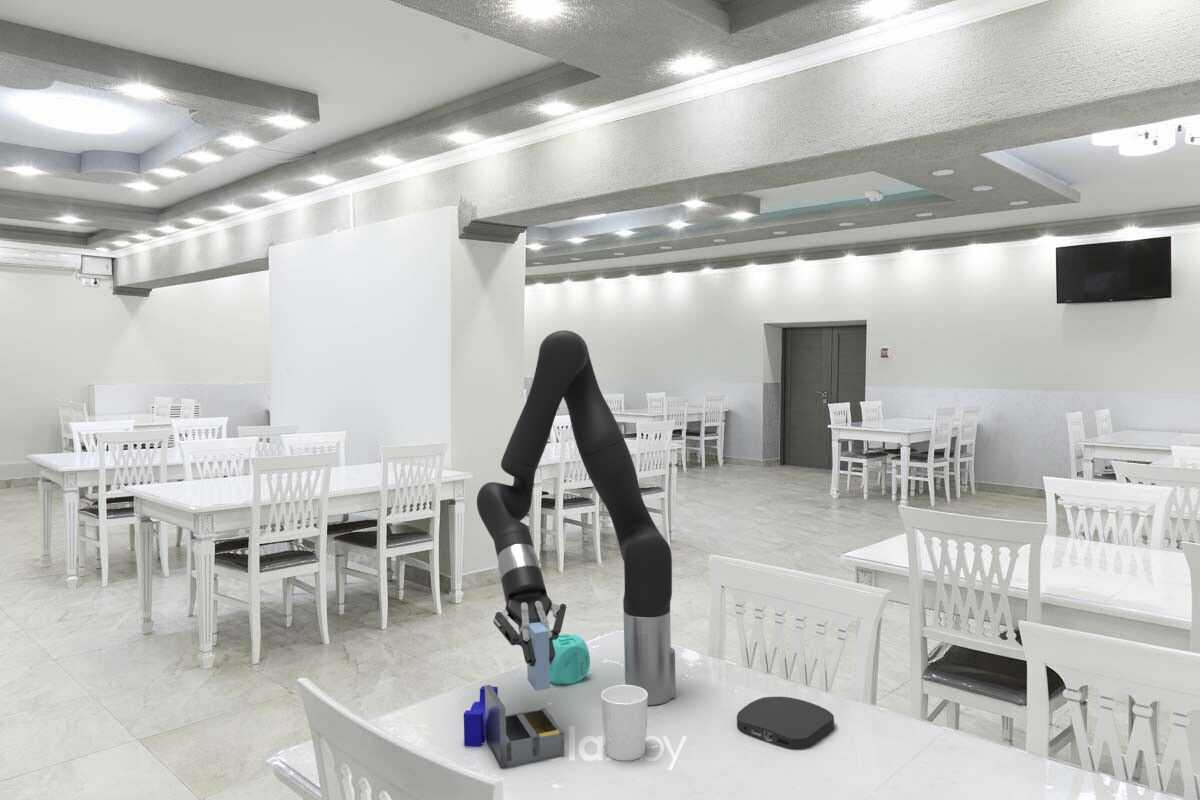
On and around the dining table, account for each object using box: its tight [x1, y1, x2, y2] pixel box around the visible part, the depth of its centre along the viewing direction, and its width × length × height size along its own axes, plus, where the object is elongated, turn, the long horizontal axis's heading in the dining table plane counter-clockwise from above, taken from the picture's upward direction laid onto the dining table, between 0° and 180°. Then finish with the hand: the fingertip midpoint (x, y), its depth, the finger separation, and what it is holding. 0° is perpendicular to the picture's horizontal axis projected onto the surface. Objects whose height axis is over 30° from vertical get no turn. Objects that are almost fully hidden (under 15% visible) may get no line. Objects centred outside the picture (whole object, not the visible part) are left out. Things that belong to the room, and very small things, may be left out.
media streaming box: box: [736, 696, 835, 751], centre depth 145 cm, size 15×15×3 cm
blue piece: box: [463, 685, 499, 748], centre depth 146 cm, size 12×4×6 cm, turn 173°
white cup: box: [600, 684, 648, 762], centre depth 137 cm, size 8×8×10 cm
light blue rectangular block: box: [526, 622, 551, 691], centre depth 139 cm, size 2×5×10 cm, turn 21°
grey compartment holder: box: [484, 684, 566, 770], centre depth 139 cm, size 11×10×10 cm
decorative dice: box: [550, 633, 591, 685], centre depth 170 cm, size 8×8×8 cm
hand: (541, 662), depth 138 cm, fingers closed on light blue rectangular block, 2 cm apart
